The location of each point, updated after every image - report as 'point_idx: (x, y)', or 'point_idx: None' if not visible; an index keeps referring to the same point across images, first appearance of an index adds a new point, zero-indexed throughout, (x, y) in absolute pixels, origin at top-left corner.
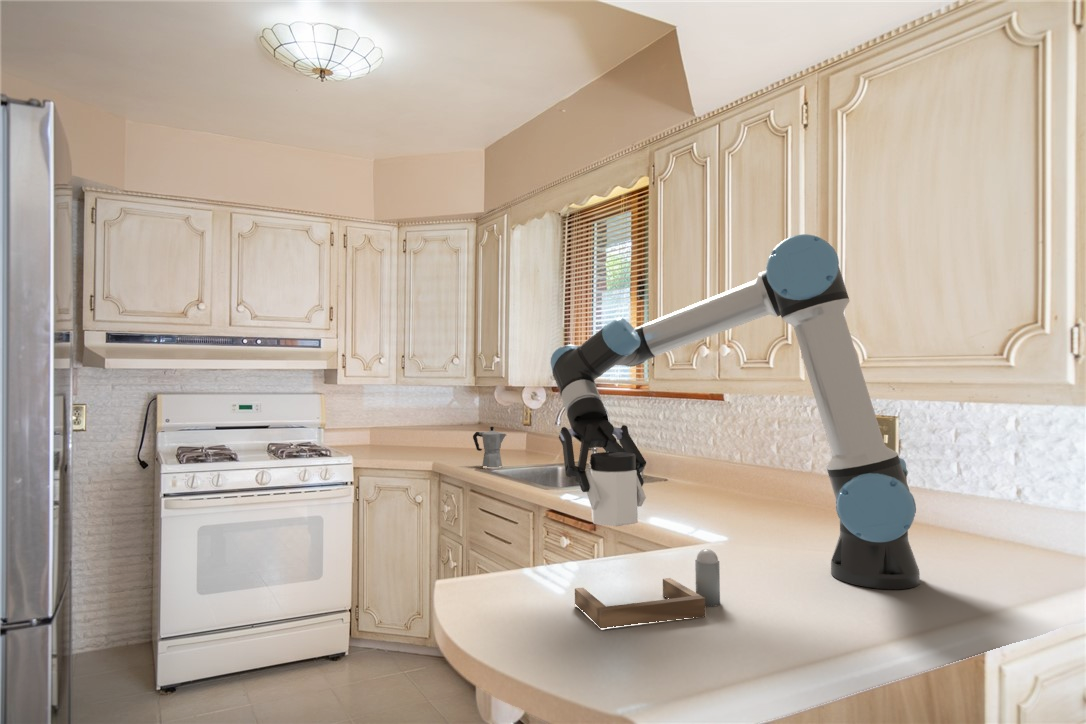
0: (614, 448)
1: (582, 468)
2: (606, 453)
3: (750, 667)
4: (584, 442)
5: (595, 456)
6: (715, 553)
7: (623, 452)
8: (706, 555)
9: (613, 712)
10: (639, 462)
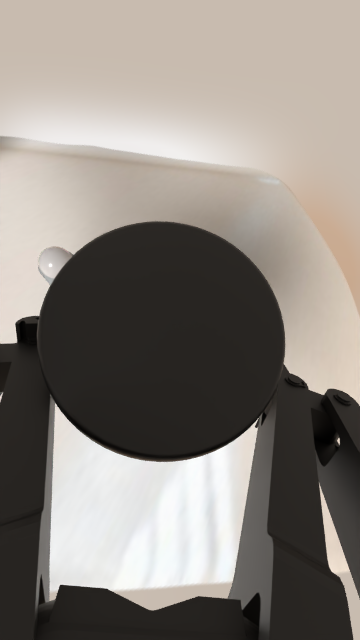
0: (47, 474)
1: (293, 377)
2: (178, 378)
3: (163, 177)
4: (320, 564)
5: (280, 312)
6: (43, 250)
7: (60, 362)
8: (64, 250)
9: (281, 182)
10: (18, 321)
